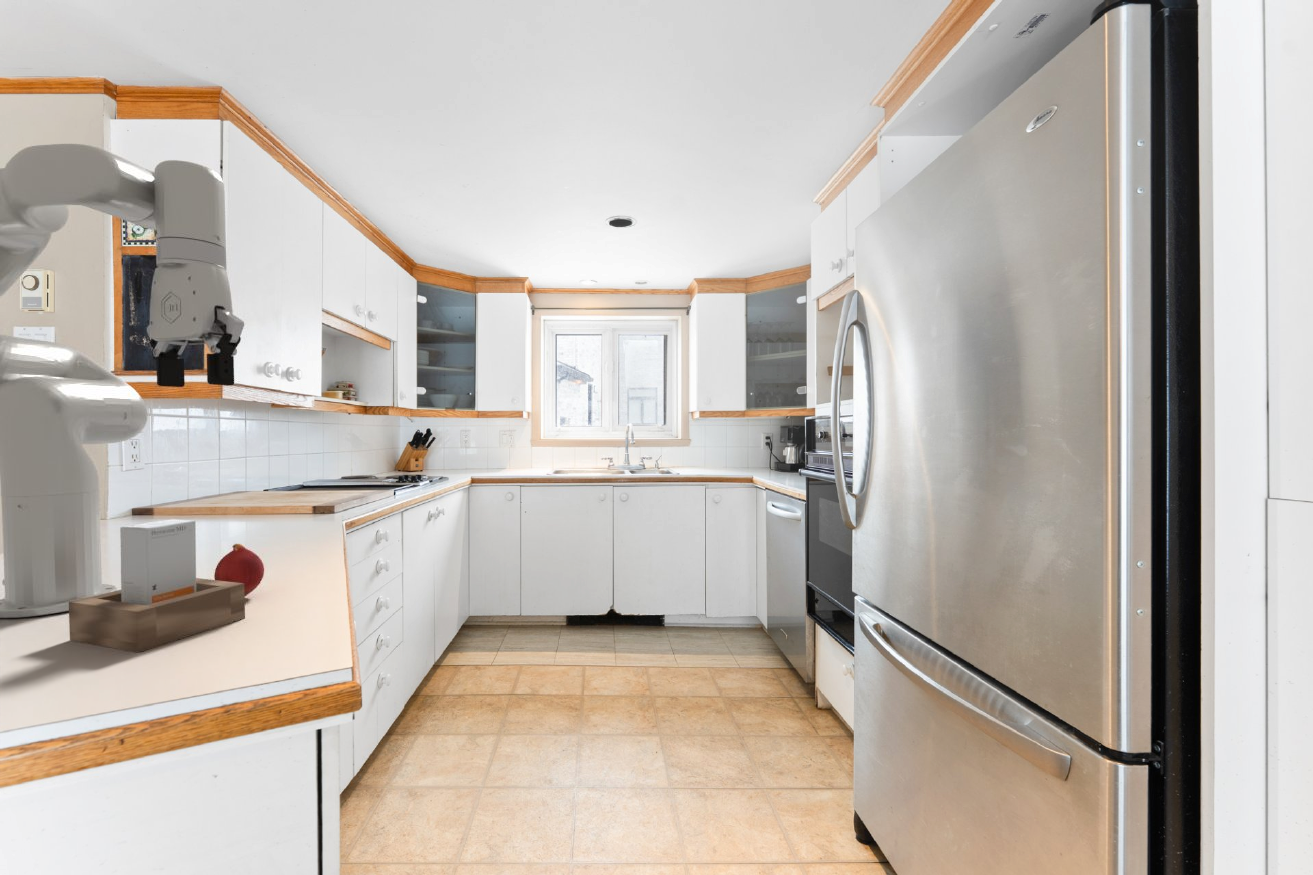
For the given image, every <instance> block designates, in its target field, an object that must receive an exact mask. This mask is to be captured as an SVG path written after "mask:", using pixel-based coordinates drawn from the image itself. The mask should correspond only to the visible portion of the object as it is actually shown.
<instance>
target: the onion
mask: <svg viewBox="0 0 1313 875" xmlns="http://www.w3.org/2000/svg"><path fill="white" fill-rule="evenodd" d="M232 548H233V549H232V550H231V551H230V552H228V553H227V554H225V555H224V556H223V557H222V558H221V559H220V560H219V561H218V563H217V565H216V566H215V569H214V577H213V578H214V580H218V581H227V582H236V583H244V593H245V597H247V596H248V595H250V594H251V593H252V592H253V591H255V589H257V587H258V586H259V585H260V584H261V581H262V580H263V579H264V575H265V566H264V563H263V561H262V559H261V557H260V556H258V555H257V554H256V553H255V552H254V551H252V550H250V549H248V548H247V547H245V546H244V545H243V544H242V543H234V544H233V545H232Z"/></svg>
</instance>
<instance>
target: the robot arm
mask: <svg viewBox="0 0 1313 875" xmlns="http://www.w3.org/2000/svg"><path fill="white" fill-rule="evenodd" d="M225 199H226V198H225V183H224V181H223V178H222V177H221V176H220V175H219V173H217V172H216V171H214V170H213V169H212V168H209V167H206V166H204V165H202V164H198V163H196V162H195V163H194V162H192V161H183V160H177V159H176V160H175V159H173V160H172V159H170V160H164V161H160V162H159V163H158V164H156V166H155V168H154V171H152V170H149V169H147V168H144V167H142V166H140V165H138V164H136V163H134V162H132V161H130V160H128V159H125V158H124V157H122V156H119V155H117V154H114V153H113V152H110V151H107V150H105V149H103V148H100V147H96V146H92V145H89V144H81V143H56V144H54V143H53V144H52V143H51V144H40V145H38V144H37V145H31V146H28V147H25V148H23V149H21V150H19V151H17V152H16V154H14V155H13V156H12V157H11V158H10V160H9V161H7V163H6V165H5V167H3V168H2V167H1V168H0V298H1V297H2V296H4V295H5V294H6V293H7V292H8V291H9V290H10V289H11V287H12V286H13V285H14V284H15V283H16V282H17V280H18V279H20V277H21V276H23V274H24V273H25V272H26V271H27V270H28V269H29V267H30V266H32V264H33V263H34V262H35V261H36V260H37V259H38V258H39V256H40V255H41V254H42V253H43V251H44V250H45V249H46V248H47V246H48V244H49V242H50V241H51V238H52V234H53V233H56V232H58V231H60V230H61V229H62V228H63V227H65V225H66V224H67V222H68V219H69V206H82V207H87V208H90V209H91V210H94V211H98V212H101V213H104V214H106V215H109V216H113V217H115V218H118V219H120V220H123V221H126V222H128V223H131V224H134V225H137V226H139V227H142V228H146V229H149V230H152V231H154V230H155V255H156V256H155V257H156V260H155V261H156V268H155V270H154V271H153V272H154V273H153V277H152V281H151V282H152V283H151V290H150V303H149V325H148V326H147V327H146V333H147V335H148V337H149V345H150V346H151V348H152V349H153V353H152V354H153V357H155V358H156V361H155V362H156V384H157V386H159V387H166V388H167V387H171V388H184V387H185V384H186V383H185V382H186V381H185V359H184V358H181V355H182V354H183V352H184V351H185V348H186V346H187V345H190V346H191V345H206V347H207V349H208V350H209V351H210V353H206V378H207V379H206V382H207V384H209V385H215V386H216V385H217V386H233V385H235V362H234V361H235V359H234V358H235V356H236V355H237V353H238V350H237V347H238V346H239V344H240V343H241V339H242V337H241V335H242V332H243V329H244V327H245V321H243V320H242V319H241V318H239V317H238V316H236V315H235V314H234V313H233V312H234V311H233V301H232V294H231V288H230V282H229V277H228V273H227V246H226V245H227V242H226V241H227V239H226V238H227V236H226V203H225ZM172 345H174V346H172ZM147 421H148V409H147V406H146V403H145V400H143V398H142V396H141V395H140V394H139V392H138V391H137V390H135V388H134V387H132V386H131V385H130V384H128V383H127V382H126V381H124V380H123V379H122V378H120V377H118V376H117V375H116V374H114V373H113V372H111V371H110V370H108V369H107V368H105V367H104V366H102V365H101V364H99V362H96V361H95V360H93V359H92V358H90V357H89V356H87V355H86V354H84V353H83V352H82V351H79V350H77V349H74V348H73V347H70V346H68V345H65V344H61V343H58V342H52V341H46V340H39V339H32V338H23V337H17V336H13V335H12V336H11V335H6V334H1V333H0V496H1V520H2V521H1V522H2V523H1V526H2V548H3V549H2V550H3V552H2V553H3V579H2V585H3V586H4V598H2V599H0V619H3V618H4V619H9V618H12V619H13V618H15V619H16V618H31V617H38V616H39V617H40V616H46V615H52V614H57V613H64V612H69V602H70V601H74V600H78V599H83V598H87V597H91V596H96V595H100V594H105V593H109V592H113V591H118V590H117V589H118V587H117V586H115V585H113V584H108V583H107V584H106V583H103V576H102V574H103V573H102V569H103V568H102V544H101V542H102V539H101V513H100V512H101V510H100V509H101V508H100V506H101V504H100V488H99V486H100V484H99V482H100V481H99V476H98V471H97V468H96V465H95V464H94V462H93V460H92V458H91V457H90V455H89V454H88V451H87V450H86V449H85V448H84V446H83V445H103V444H117V443H120V442H121V443H122V442H125V441H128V440H131V439H132V438H134V437H136V436H138V435H139V434H140V433H141V432H142V431H143V430H144V428H145V427H146V424H147Z"/></svg>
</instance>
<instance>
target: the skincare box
mask: <svg viewBox="0 0 1313 875" xmlns="http://www.w3.org/2000/svg"><path fill="white" fill-rule="evenodd" d="M196 526H197V525H196V520H189V519H187V520H186V519H174V518H172V519H164V520H157V521H150V522H149V521H148V522H144V523H140V524H139V523H138V524H133V525H125V526H121V527H120V529H119V531H120V587H121V588H120V590H121V602H124V603H131V604H138V605H149V604H153V603H157V602H160V601H164V600H168V599H172V598H176V597H180V596H183V595H187V594H191V593H195V592H196V578H197V558H196V557H197V547H196V546H197V545H196V542H197V540H196V537H197V535H196V530H197V529H196Z"/></svg>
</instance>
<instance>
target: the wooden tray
mask: <svg viewBox="0 0 1313 875" xmlns="http://www.w3.org/2000/svg"><path fill="white" fill-rule="evenodd" d="M245 600H246V596H245V593H244V583H236V582H227V581H218V580H215V579H209V578H199V577H196V592H195V593H191V594H187V595H183V596H180V597H176V598H172V599H168V600H164V601H160V602H157V603H153V604H149V605H138V604H131V603H124V602H121V589H118V590H117V591H113V592H109V593H105V594H100V595H96V596H91V597H87V598H83V599H78V600H74V601H70V602H69V611H68V621H69V622H68V623H69V627H68V628H69V641H72V642H73V641H74V642H79V643H83V644H84V643H85V644H90V645H94V646H101V647H105V648H111V649H112V648H113V649H118V650H123V651H129V652H135V653H141V652H144V651H148V650H150V649H153V648H156V647H159V646H160V647H161V646H163V645H166V644H170V643H173V642H175V641H176V642H177V641H178V639H179V640H182V639H185V638H188V637H190V636H194V635H197V634H201V633H204V632H207V631H209V630H213V629H215V628H216V629H217V628H219V627H222V626H225V625H228V624H231V623H234V621H235V622H238V621H240V619H241V620H243V619H246V602H245ZM172 641H173V642H172Z"/></svg>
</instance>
